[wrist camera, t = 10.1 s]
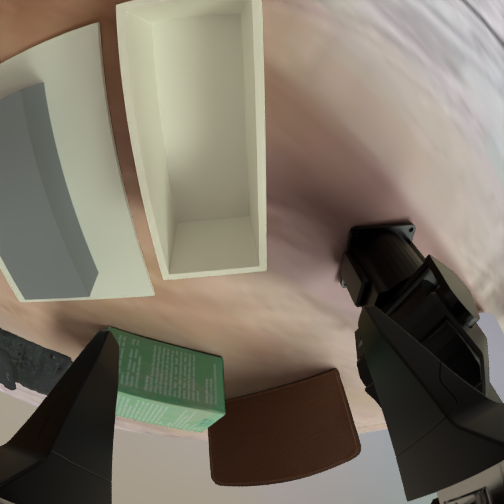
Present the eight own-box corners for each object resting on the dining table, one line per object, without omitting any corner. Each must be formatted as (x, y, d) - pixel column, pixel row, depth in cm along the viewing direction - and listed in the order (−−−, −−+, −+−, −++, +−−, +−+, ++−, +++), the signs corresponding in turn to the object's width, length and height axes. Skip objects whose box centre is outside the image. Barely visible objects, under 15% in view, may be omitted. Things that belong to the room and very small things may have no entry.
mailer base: (246, 8, 13) (261, -14, 8) (254, 217, 22) (266, 270, 17) (145, 19, 13) (115, 4, 8) (173, 225, 22) (163, 280, 17)
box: (105, 323, 27) (90, 386, 22) (224, 354, 32) (228, 414, 27) (98, 357, 31) (88, 411, 25) (201, 382, 36) (203, 434, 30)
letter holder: (205, 402, 40) (210, 490, 29) (337, 365, 37) (365, 459, 26) (232, 421, 46) (240, 495, 35) (344, 391, 43) (367, 467, 32)
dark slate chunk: (81, 398, 39) (77, 423, 35) (-25, 355, 31) (-33, 376, 28) (79, 354, 31) (71, 386, 28) (-49, 299, 24) (-63, 323, 20)
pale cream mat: (99, 22, 12) (97, 22, 12) (154, 292, 25) (154, 295, 25) (-54, 100, 11) (-57, 101, 11) (21, 299, 24) (20, 302, 24)
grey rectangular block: (43, 82, 13) (20, 89, 11) (98, 272, 23) (89, 296, 21) (-23, 114, 13) (-46, 126, 10) (36, 278, 22) (25, 299, 20)
